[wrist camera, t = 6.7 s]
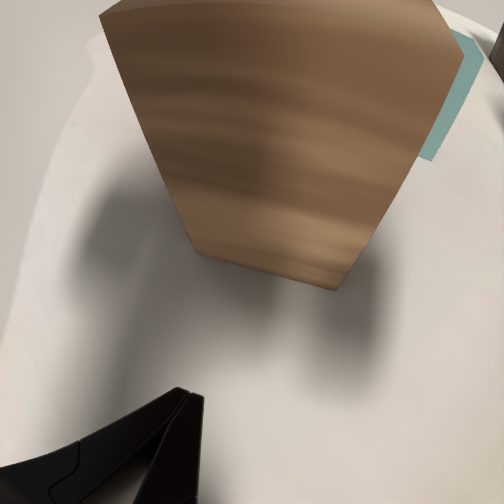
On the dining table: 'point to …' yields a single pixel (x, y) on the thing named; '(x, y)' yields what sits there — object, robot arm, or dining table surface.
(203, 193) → the walnut block
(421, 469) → the dining table surface
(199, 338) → the dining table surface
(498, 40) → the pepper mill
